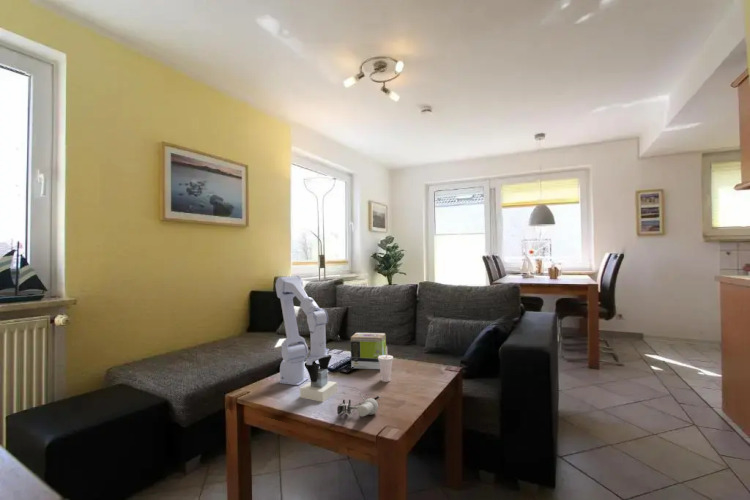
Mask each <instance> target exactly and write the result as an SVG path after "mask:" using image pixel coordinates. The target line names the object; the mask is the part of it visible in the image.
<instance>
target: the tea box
mask: <svg viewBox="0 0 750 500" xmlns="http://www.w3.org/2000/svg"><path fill="white" fill-rule="evenodd" d="M386 336H387V335H386V332H355V333H354V334H353V335H352V336H350V363H351V366H350V367H351V368H352V367H354V368H353V369H360V370H361V369H362V370H363V369H364V370H380V366H379V360H378V357H379V356H380V355H386V346H387V337H386Z"/></svg>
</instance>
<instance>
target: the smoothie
mask: <svg viewBox="0 0 750 500" xmlns="http://www.w3.org/2000/svg"><path fill="white" fill-rule="evenodd" d="M378 360H379V366H380V369H379V371H380V378H381V382H384V383H386V382H387V383H388V382H390V381H391V376H392V368H393V360H394V356H393V355H390V354H388V346H387V345H386V355H380V356H379V357H378Z"/></svg>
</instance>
